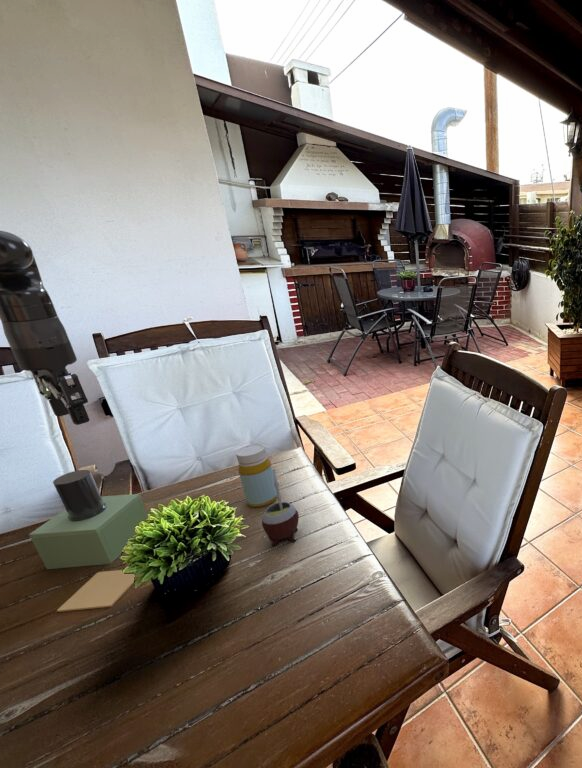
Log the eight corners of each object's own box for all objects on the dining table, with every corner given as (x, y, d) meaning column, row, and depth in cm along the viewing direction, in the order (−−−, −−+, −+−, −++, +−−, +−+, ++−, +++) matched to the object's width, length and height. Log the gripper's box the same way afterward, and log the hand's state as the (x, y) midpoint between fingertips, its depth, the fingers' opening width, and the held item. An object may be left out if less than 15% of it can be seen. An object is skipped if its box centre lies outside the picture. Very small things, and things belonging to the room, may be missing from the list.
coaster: (57, 612, 73) (56, 610, 73) (98, 573, 81) (97, 572, 81) (111, 606, 74) (110, 605, 74) (146, 569, 82) (146, 567, 82)
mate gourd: (282, 553, 87) (267, 495, 81) (257, 542, 90) (242, 486, 84) (310, 531, 93) (298, 476, 88) (287, 522, 96) (274, 468, 91)
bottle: (241, 506, 102) (226, 454, 96) (263, 490, 108) (250, 441, 103) (263, 510, 100) (250, 458, 95) (284, 494, 106) (273, 444, 101)
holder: (60, 522, 82) (42, 486, 79) (84, 505, 88) (69, 470, 85) (91, 520, 83) (75, 483, 80) (114, 503, 88) (99, 468, 85)
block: (46, 569, 82) (28, 534, 79) (96, 529, 93) (81, 497, 90) (111, 563, 84) (95, 529, 81) (152, 525, 95) (139, 493, 92)
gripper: (-4, 342, 76) (32, 419, 81) (26, 351, 70) (62, 433, 75) (52, 334, 82) (81, 406, 88) (83, 341, 76) (113, 418, 82)
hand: (72, 419), depth 81 cm, fingers open, 8 cm apart
